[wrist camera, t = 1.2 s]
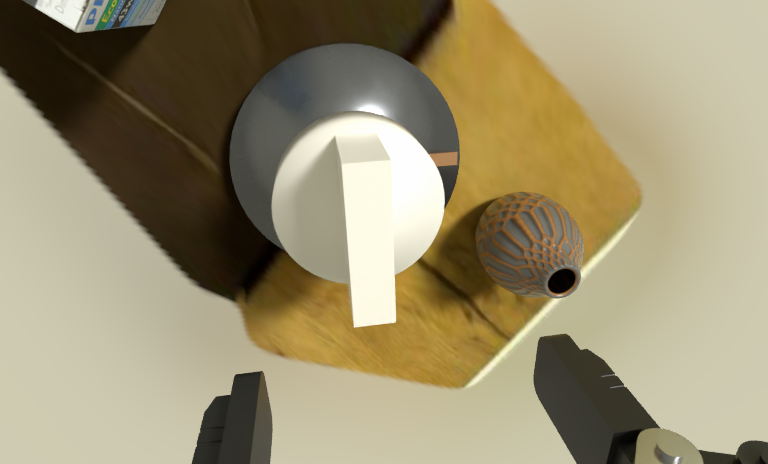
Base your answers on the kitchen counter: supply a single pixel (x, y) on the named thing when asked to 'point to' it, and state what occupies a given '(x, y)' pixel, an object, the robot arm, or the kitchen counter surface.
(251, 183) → the grey disc with tab
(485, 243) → the vase
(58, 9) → the light bulb box
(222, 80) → the kitchen counter surface
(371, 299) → the white rotary knob
